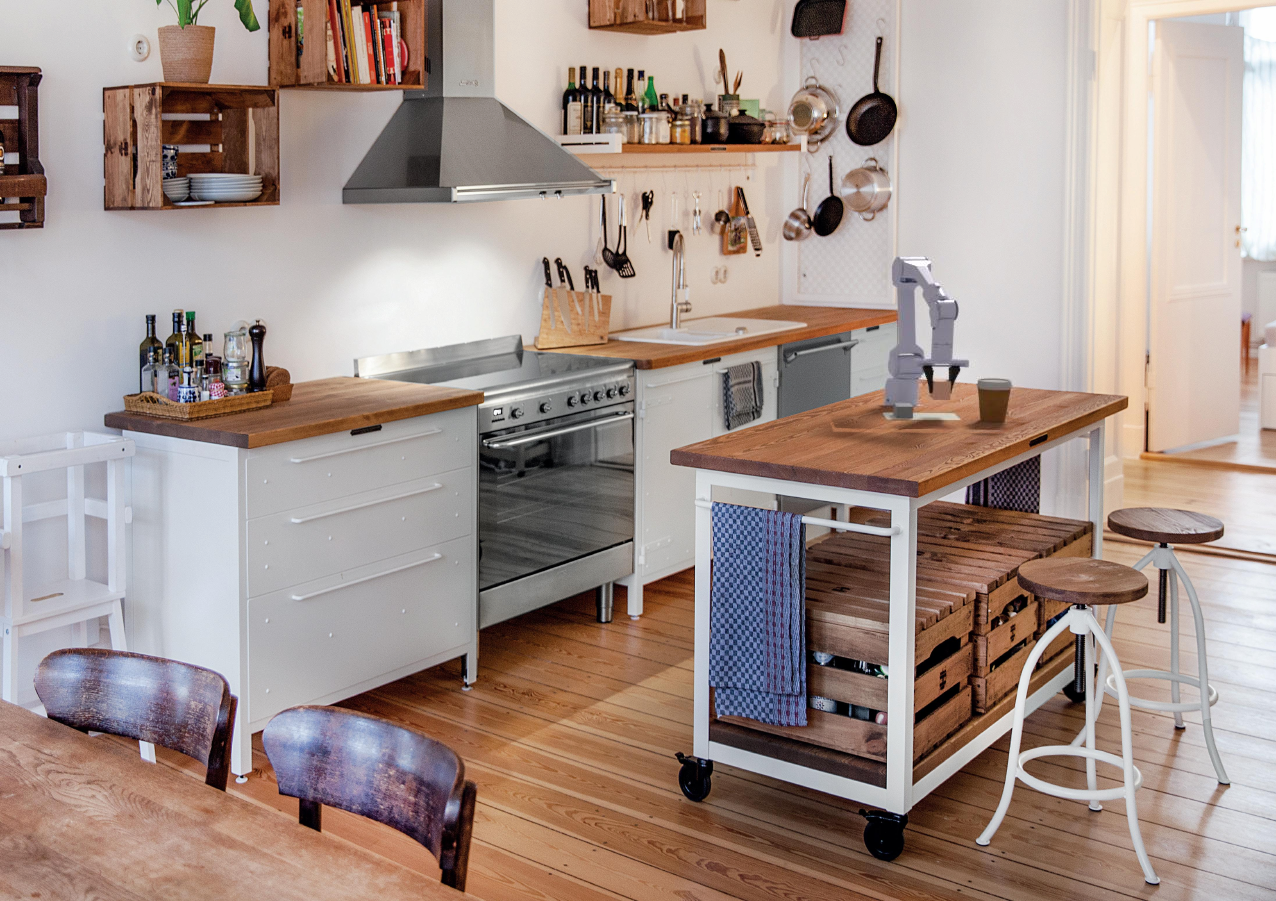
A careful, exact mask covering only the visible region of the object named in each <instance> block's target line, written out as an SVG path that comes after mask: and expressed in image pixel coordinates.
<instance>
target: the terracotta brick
mask: <svg viewBox="0 0 1276 901" xmlns="http://www.w3.org/2000/svg"><path fill="white" fill-rule="evenodd" d="M951 396H952V393H951V381H949V378H939V377H938V378H934V377H933V393H929V397H930V398H931V399H932V400H933V401H950V400H951Z"/></svg>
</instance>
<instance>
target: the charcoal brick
mask: <svg viewBox="0 0 1276 901" xmlns="http://www.w3.org/2000/svg"><path fill="white" fill-rule="evenodd" d="M892 413H893V414H894V416H895V417H896V418H913V413H914V406H912V405H911V403H894V405H893V412H892Z"/></svg>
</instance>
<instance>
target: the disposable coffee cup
mask: <svg viewBox="0 0 1276 901" xmlns="http://www.w3.org/2000/svg"><path fill="white" fill-rule="evenodd" d="M975 385H976V388H977V392H978V393H977V396H978V408H979V420H980V421H981V422H984V423H1004V422H1006V418H1007V412H1008V406H1009V400H1010V394H1011V390H1012V387H1013V384H1012V380H1011V379H1007V378H998V377H997V378H995V377H993V378H991V377H990V378H989V377H987V378H978V379H977V383H976V384H975Z"/></svg>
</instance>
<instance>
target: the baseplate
mask: <svg viewBox="0 0 1276 901" xmlns="http://www.w3.org/2000/svg"><path fill="white" fill-rule="evenodd" d="M882 415H883V416H884V418H885V419H886V420H887V421H888V420H892V421H898V420H899V421H900V420H902V421H904V420H905V421H907V420H908V421H909V420H910V421H962V419H961V418H960V417H959V416H958V415H957V414H955V413H954V412H953V413H952V412H951V413H950V412H947V413H946V412H945V413H944V412H943V413H942V412H913V418H896V417H895V416H894V414H893V412H882Z"/></svg>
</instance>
